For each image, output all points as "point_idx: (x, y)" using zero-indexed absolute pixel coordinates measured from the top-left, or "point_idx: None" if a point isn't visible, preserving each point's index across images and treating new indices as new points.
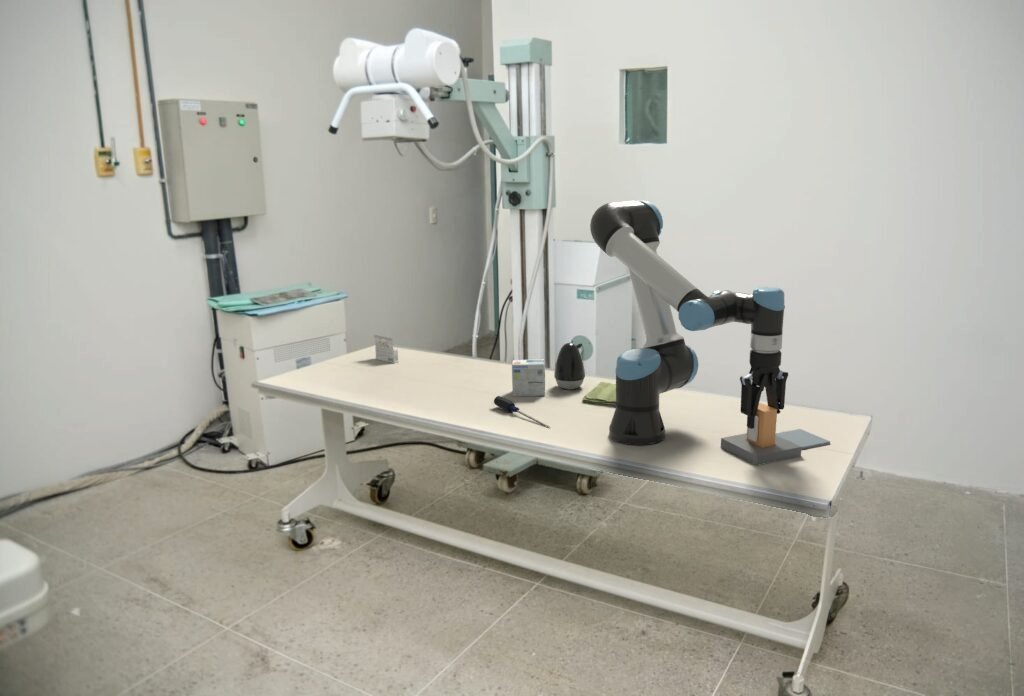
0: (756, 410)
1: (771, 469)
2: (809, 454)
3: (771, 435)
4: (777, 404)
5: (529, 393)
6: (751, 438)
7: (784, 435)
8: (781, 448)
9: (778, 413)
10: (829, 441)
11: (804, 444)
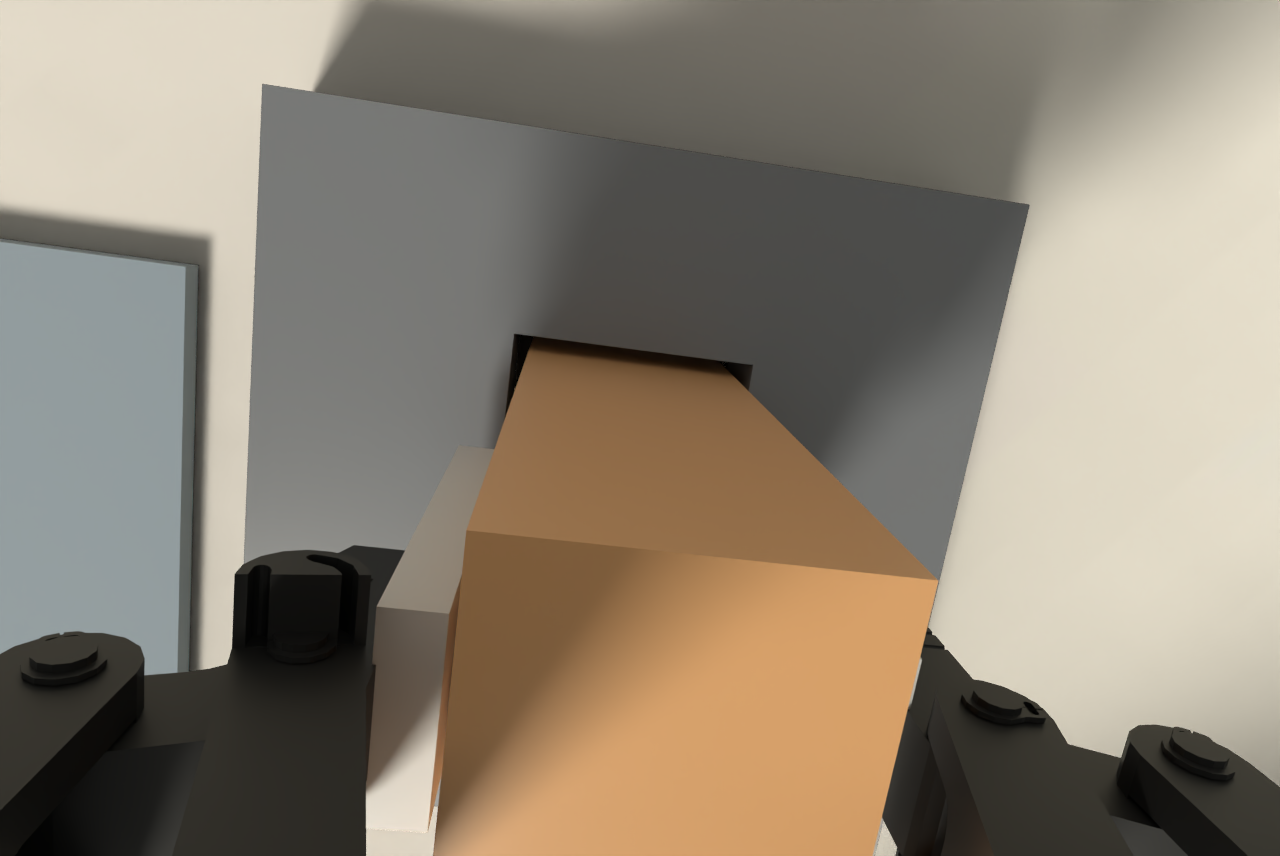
0: (980, 768)
1: (935, 18)
2: (162, 79)
3: (598, 388)
4: (213, 749)
5: None
6: None
7: (8, 646)
8: (558, 206)
9: (321, 556)
10: None
11: (3, 302)
